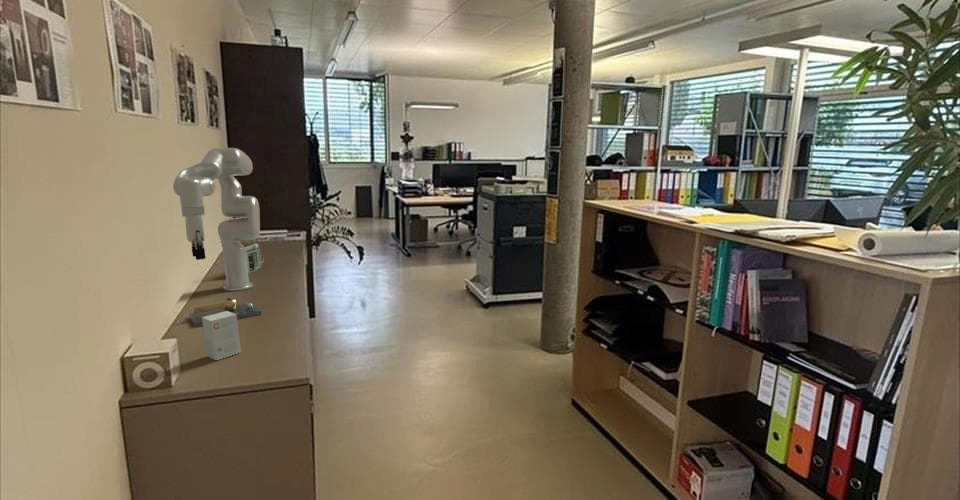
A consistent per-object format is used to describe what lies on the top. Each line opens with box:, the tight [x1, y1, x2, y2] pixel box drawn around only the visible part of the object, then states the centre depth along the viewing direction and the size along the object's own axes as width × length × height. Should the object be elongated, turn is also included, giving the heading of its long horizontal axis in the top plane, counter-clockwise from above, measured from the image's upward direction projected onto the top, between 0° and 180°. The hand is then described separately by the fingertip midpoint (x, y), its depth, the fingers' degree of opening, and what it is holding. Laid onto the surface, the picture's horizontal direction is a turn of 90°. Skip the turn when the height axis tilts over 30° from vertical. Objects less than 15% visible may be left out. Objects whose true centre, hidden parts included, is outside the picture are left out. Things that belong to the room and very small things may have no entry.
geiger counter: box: [244, 243, 265, 274], centre depth 275 cm, size 14×6×25 cm
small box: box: [202, 311, 242, 361], centre depth 165 cm, size 8×6×13 cm
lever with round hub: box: [192, 297, 238, 314], centre depth 204 cm, size 4×15×4 cm, turn 126°
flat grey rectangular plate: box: [188, 301, 262, 328], centre depth 204 cm, size 14×23×4 cm, turn 126°
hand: (199, 257), depth 203 cm, fingers open, 6 cm apart
